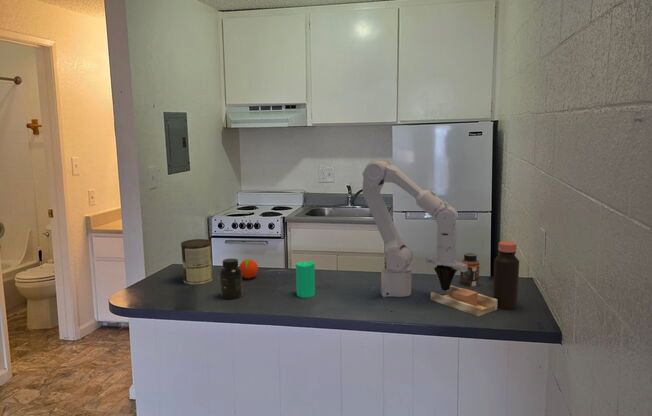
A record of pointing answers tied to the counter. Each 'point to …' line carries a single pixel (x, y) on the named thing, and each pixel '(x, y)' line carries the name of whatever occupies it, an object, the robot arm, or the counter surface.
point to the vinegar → (506, 276)
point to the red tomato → (248, 268)
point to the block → (466, 296)
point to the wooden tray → (483, 303)
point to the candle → (305, 279)
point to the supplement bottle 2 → (470, 270)
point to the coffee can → (196, 261)
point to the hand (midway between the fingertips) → (445, 289)
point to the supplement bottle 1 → (231, 279)
